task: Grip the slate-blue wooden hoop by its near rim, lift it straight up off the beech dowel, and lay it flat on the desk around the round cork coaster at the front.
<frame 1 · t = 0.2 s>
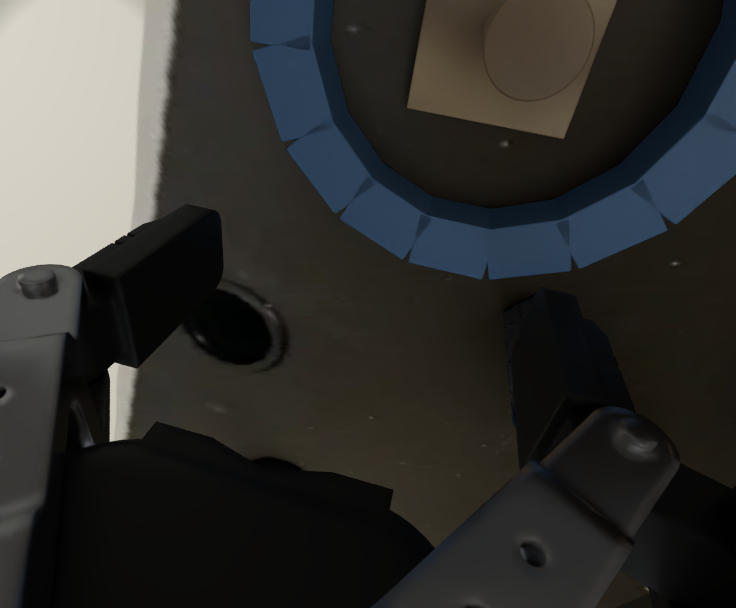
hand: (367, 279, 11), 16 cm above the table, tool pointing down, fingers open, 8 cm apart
vhs cassette tape: (586, 391, 31), on the table
webcam: (281, 479, 45), on the table
hoop: (508, 30, 20), on the table
dowel stand: (508, 30, 20), on the table
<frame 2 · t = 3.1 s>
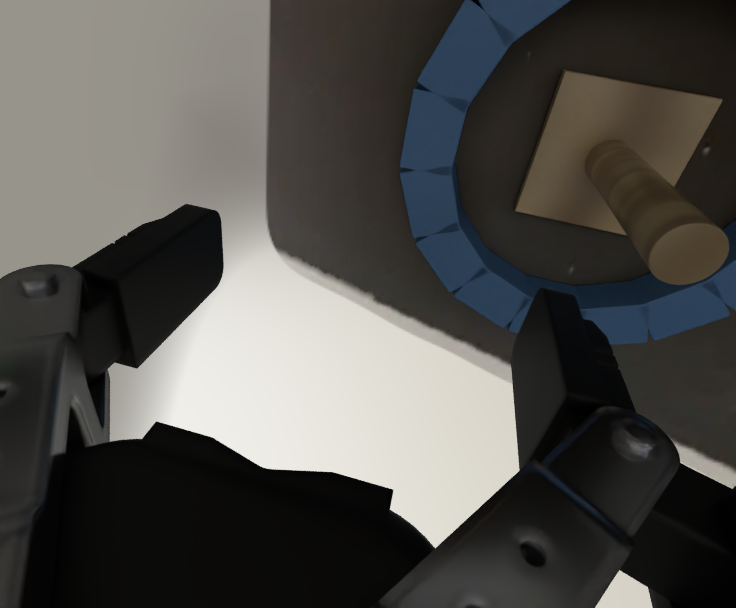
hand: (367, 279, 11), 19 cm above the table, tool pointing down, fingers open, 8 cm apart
hoop: (604, 157, 26), on the table
dowel stand: (604, 157, 26), on the table
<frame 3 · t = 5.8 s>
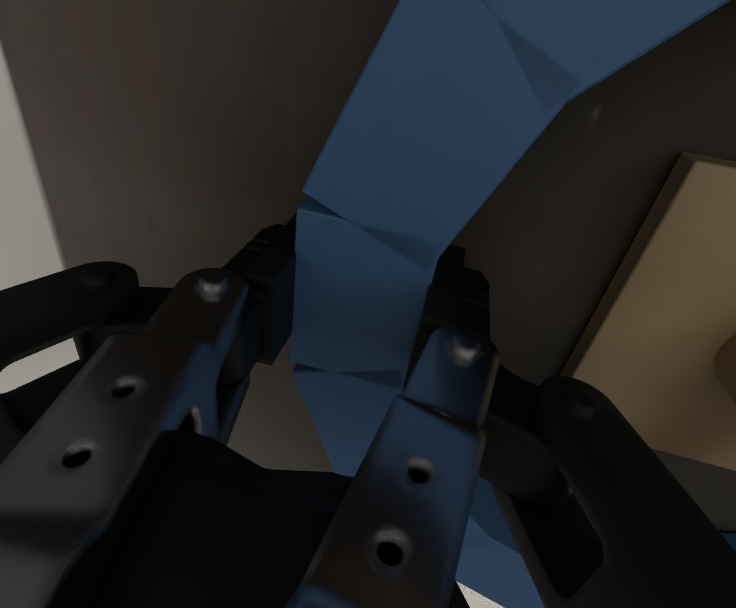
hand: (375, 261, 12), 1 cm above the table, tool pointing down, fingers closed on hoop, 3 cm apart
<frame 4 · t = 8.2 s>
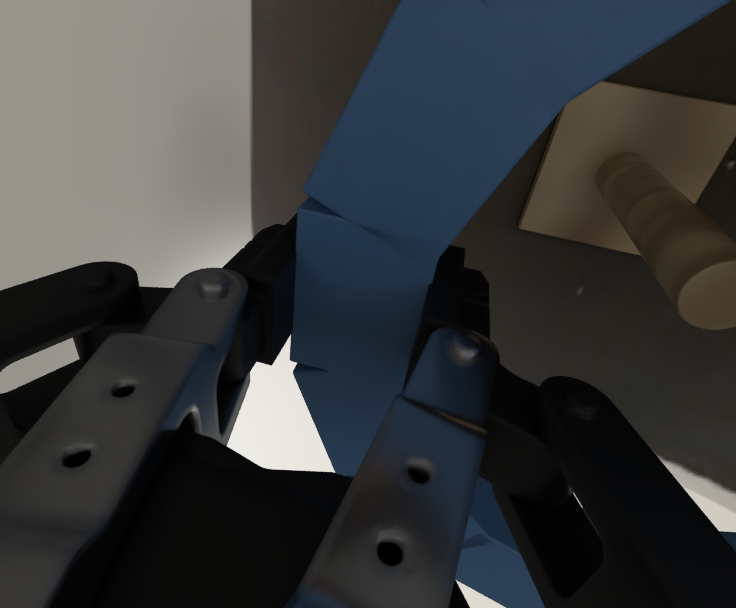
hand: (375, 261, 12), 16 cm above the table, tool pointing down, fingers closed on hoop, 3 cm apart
dowel stand: (618, 171, 23), on the table
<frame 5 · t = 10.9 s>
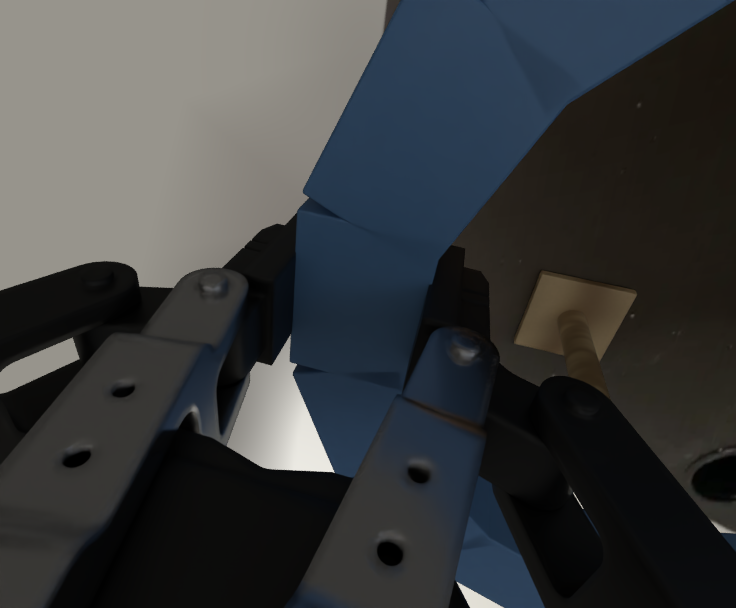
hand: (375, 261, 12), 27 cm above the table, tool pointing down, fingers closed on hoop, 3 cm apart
dowel stand: (570, 316, 41), on the table
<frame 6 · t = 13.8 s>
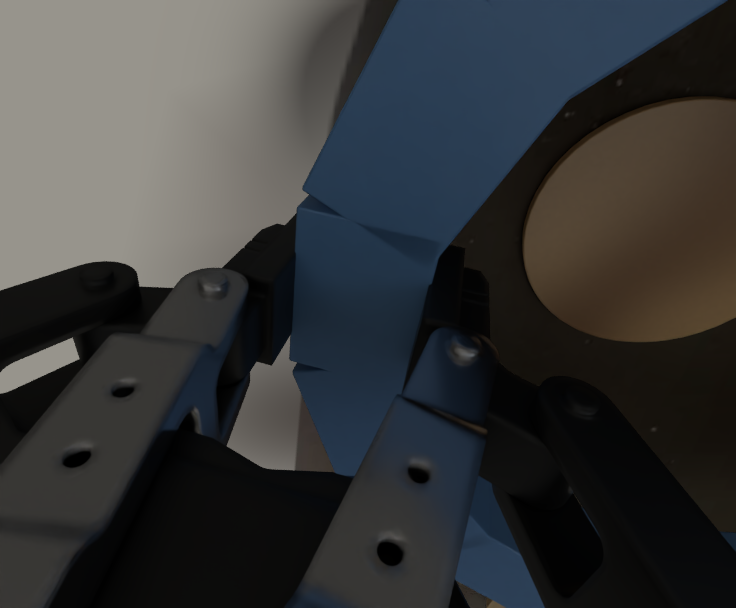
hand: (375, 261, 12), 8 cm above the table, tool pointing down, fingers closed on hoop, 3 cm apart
cork coaster: (654, 233, 17), on the table
when the fingers open (1 cm above the table, at t = 16.1 s): hoop stays where it is, on the table.
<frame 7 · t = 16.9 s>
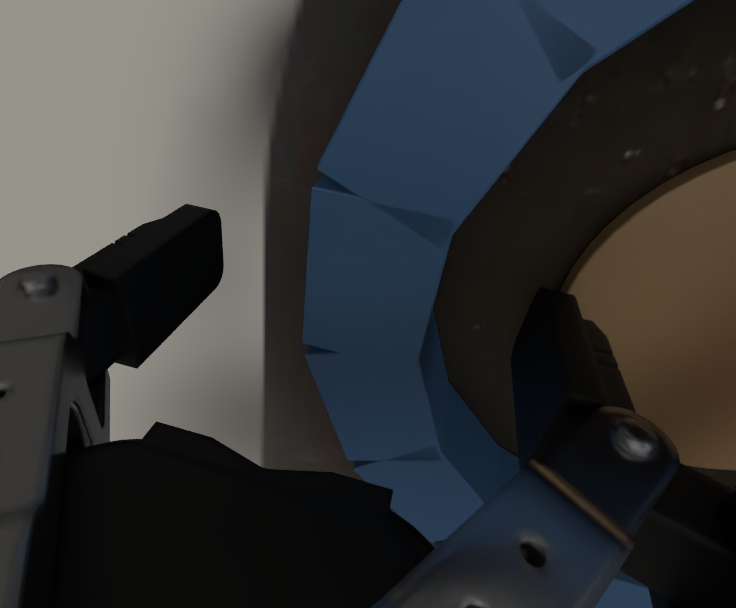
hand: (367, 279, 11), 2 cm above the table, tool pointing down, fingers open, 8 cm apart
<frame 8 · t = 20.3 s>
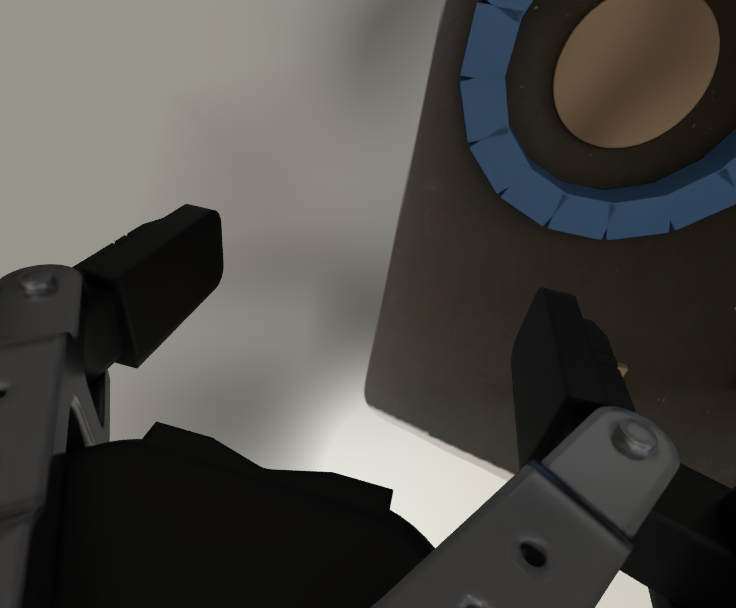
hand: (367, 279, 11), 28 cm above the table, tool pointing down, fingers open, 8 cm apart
cork coaster: (629, 72, 30), on the table
hoop: (634, 66, 30), on the table
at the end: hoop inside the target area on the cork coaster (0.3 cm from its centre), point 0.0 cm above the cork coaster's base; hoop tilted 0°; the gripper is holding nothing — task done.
